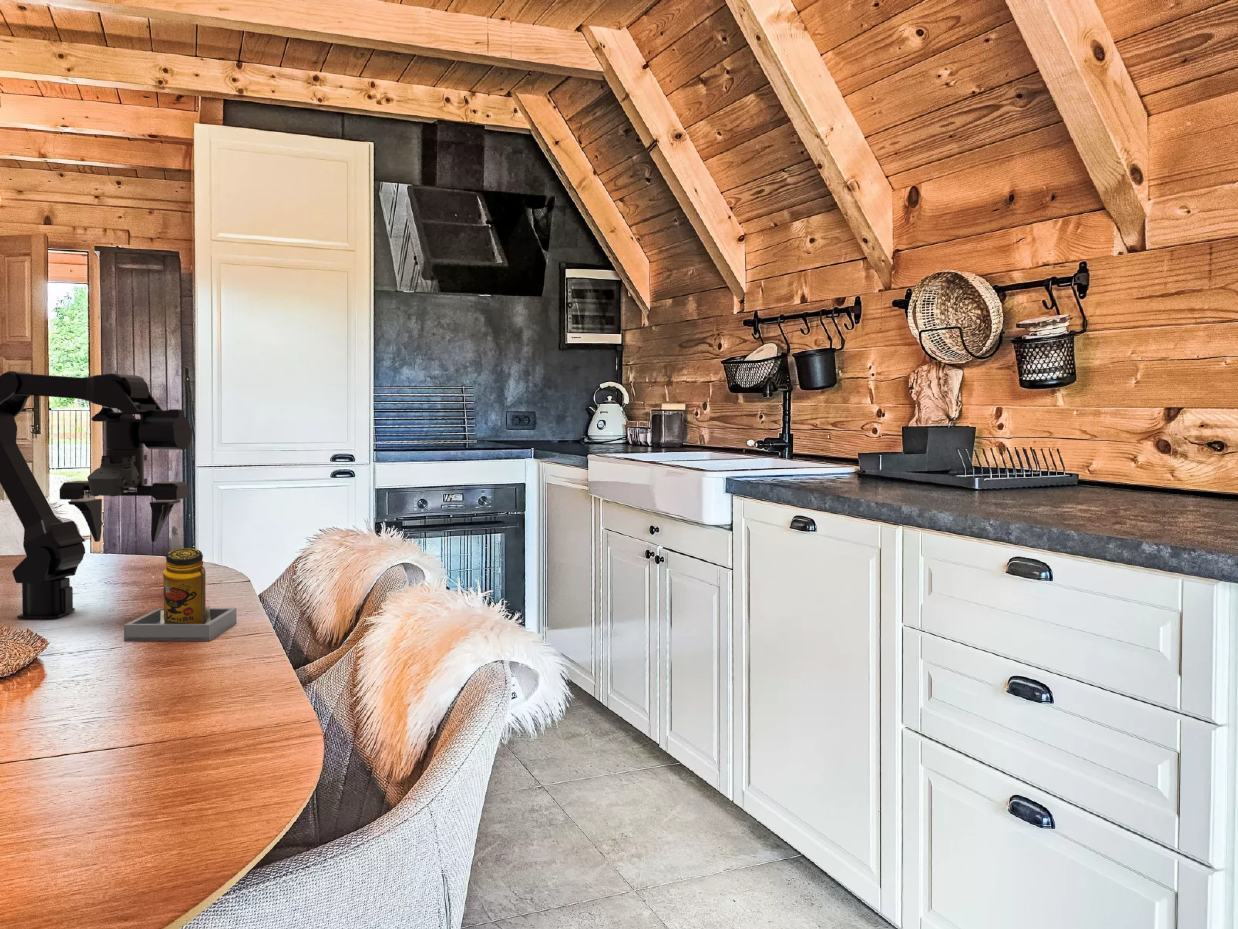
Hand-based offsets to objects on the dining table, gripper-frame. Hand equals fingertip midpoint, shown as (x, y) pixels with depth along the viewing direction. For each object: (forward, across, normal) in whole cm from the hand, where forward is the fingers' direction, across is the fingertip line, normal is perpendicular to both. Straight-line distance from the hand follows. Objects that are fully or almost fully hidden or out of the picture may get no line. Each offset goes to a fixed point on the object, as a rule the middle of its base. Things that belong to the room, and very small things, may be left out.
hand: (125, 541), depth 157 cm
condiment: (+12, +13, -9) cm, 20 cm away
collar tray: (+13, +13, -10) cm, 21 cm away
